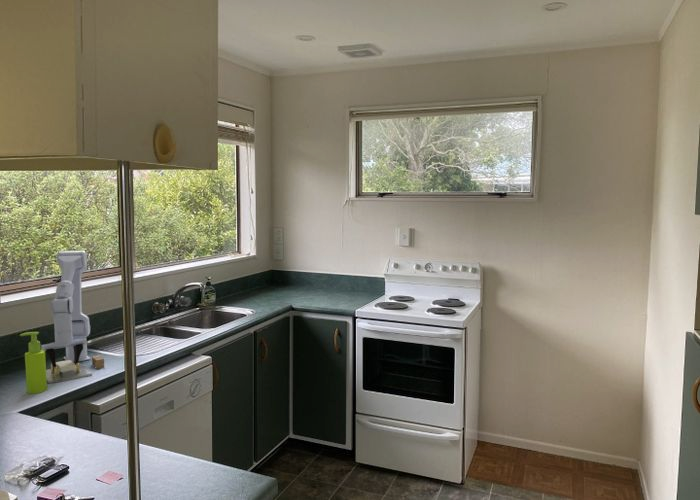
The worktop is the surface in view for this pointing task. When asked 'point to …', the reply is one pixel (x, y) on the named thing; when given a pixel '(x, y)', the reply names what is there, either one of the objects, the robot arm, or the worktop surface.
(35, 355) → the soap dispenser
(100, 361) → the wooden block
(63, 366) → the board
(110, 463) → the worktop surface
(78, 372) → the chassis
